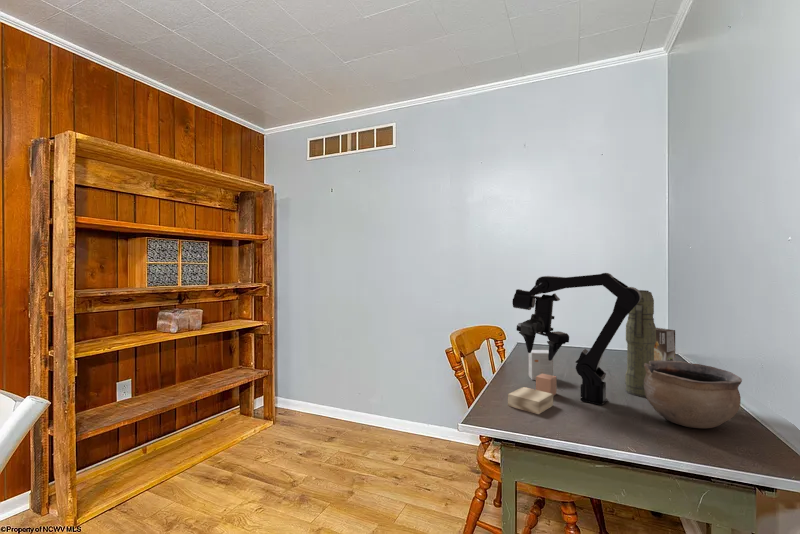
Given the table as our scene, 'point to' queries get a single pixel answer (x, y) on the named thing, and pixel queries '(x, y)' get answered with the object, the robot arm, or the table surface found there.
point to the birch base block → (530, 400)
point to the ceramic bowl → (692, 393)
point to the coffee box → (664, 345)
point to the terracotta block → (546, 383)
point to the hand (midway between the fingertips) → (539, 356)
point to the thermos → (640, 343)
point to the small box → (539, 363)
